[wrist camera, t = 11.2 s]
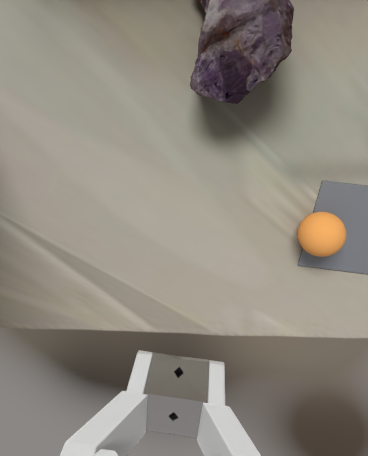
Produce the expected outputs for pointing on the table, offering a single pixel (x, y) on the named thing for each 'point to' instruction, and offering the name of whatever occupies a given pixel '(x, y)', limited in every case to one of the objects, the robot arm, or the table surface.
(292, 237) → the table surface
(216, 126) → the table surface
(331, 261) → the grey mark
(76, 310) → the table surface
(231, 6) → the rock
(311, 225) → the ball
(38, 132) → the table surface
